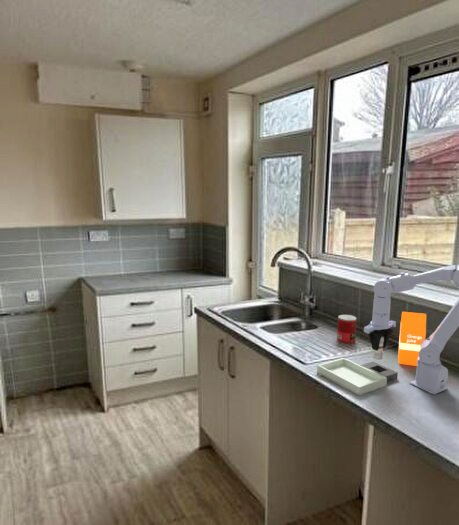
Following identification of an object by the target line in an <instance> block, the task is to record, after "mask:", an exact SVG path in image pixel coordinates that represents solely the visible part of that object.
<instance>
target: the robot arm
mask: <svg viewBox="0 0 459 525" xmlns="http://www.w3.org/2000/svg"><path fill="white" fill-rule="evenodd" d="M437 281H443V282H445V283H449V284H451V283H452V281H453V283H454V285H455V286H456V287H457V288H458V289H459V264H457V265H456V264H452V265H448V266H443V267H438V268H435V269H432V270H428V271H425V272H422V273H417V274H411V273H409V272H406V273H405V271H402V272H400V273H399V274H398V275H395V276H391V277H390V275H389V276H386V277H385V278H380V279H378V280H377V281H376V282H375V283H374V286H373V292H374V294H373V303H372V304H373V305H372V315H371V316H372V317H371V318H372V320H371V321H370V322H369V324H368V325H366V326H364V327H363V333H365V334H367V335H368V338H369V340H370V344H371V348H372V350H373V351H374V350H376V351H378V349H379V343H380V339H381V337H382V336H384V343H383V349H385V348H386V346H387V344H388V342H389V339H390V337H391V336H392V334H393V333H394V330H393V329H391V328H396V327H397V326H396V325H397V322H396V321H395V320H392V319H391V320H390V318H391V317H390V316H391V304H392V300H391V294H398V293H401V292H406V291H411V290H414V289H415V286H416V285H420V284H427V283H432V282H437ZM458 328H459V298H458V299H457V301H456V302H455V303H454V304H453V306H452V307H451V309H450V310H449V311H448V313H447V314H446V315H445V317H444V318H443V319H442V321H441V322H440V324H439V325H438V326H437V328H436V329H435V331H434V332H433V333H432V334H430V336H429V337H427V338H425V340H424V341H422V343H421V346H420V347H421V348H420V351H419V357H418V358H417V366H416V371H415V379H414V380H411V381H410V382H409V385H410V384H411V385H412V386H415V387H416V388H419V389H421V390H423V391H426V392H428V393H430V394H432V395H437V394H439V393H442V392H444V391H446V390H448V389H449V387H448V378H449V370H448V368H447V367H445V366H444V365H442V362H441V360H440V356H441V353H442V351H444V348H445V346H446V344H447V342H448V341H449V340H450V338H451V337H452V336H453V334H454V333H455V332H456V330H457V329H458Z"/></svg>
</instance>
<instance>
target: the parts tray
mask: <svg viewBox="0 0 459 525" xmlns="http://www.w3.org/2000/svg"><path fill="white" fill-rule="evenodd" d="M361 365H362V364H361ZM361 365H360V364H359V363H356V362H354V361H353V360H350V359H347V358H346V357H341V358H337V359H335V360H331V361H327V362H324V363H320V364H317V365H316V369H317V370H316V373H317V374H319V375H320V376H322V377H324V378H325V379H328V380H329V381H332V382H333V383H335V384H337V385H339V386H340V387H342V388H344V389H346V390H348V391H349V392H351V393H353V394H355V395H357V396H358V397H359V396H362V395H364V394H367V393H368V394H369V393H371V392H373V391H376V390H378V389H382V388H384V387H387V383H388V382H387V378H386V377H384V376H382V375H380V374H378V373H376V372H374V371H371V370H369V369H367V368H365V367H363V366H361Z"/></svg>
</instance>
